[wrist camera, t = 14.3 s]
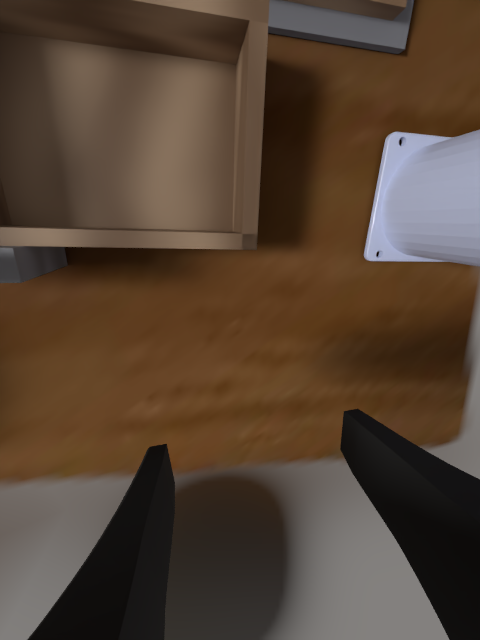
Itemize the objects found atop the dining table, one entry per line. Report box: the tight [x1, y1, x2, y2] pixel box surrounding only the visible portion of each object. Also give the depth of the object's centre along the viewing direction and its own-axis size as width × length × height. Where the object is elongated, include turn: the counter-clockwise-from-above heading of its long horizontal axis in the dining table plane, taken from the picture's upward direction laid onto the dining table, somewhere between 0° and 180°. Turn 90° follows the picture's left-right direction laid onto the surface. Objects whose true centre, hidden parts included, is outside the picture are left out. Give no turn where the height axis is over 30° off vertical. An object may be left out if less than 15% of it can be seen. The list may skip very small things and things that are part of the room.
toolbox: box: [0, 0, 270, 283], centre depth 11 cm, size 19×13×7 cm
